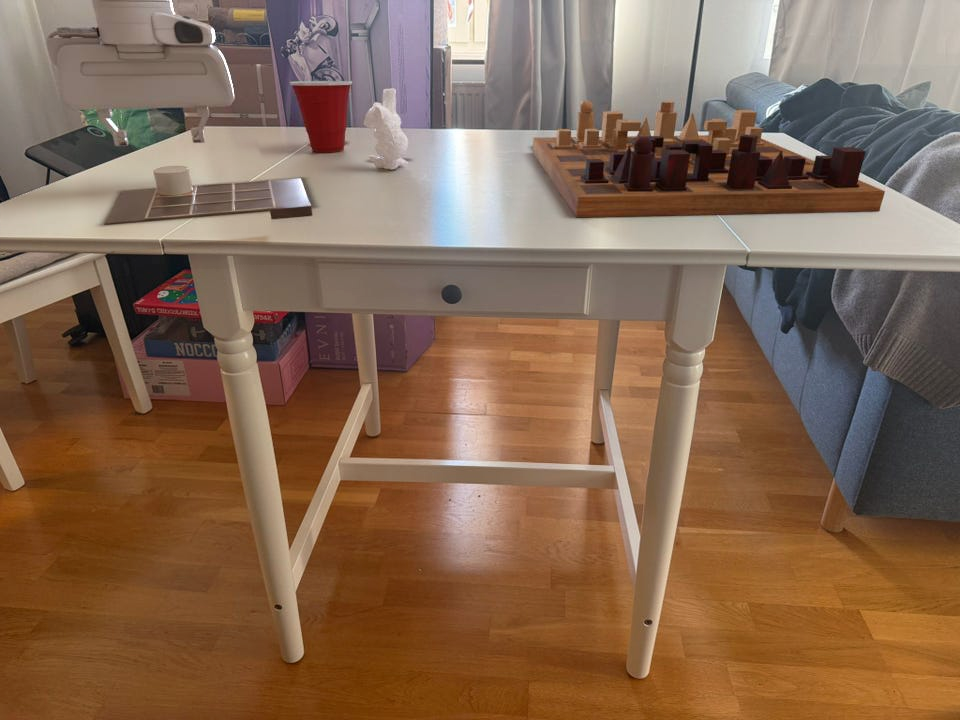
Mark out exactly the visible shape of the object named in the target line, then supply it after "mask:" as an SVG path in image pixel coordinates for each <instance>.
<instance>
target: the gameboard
mask: <svg viewBox="0 0 960 720" xmlns="http://www.w3.org/2000/svg"><path fill="white" fill-rule="evenodd" d="M578 109H579V112H577V121H576V122H577V124H576V136H572V130H571V129H570V128H558V129H556V136H555V137H554V136H553V137H551V136H550V137H547V136H546V137H533V138H532V154H533V156H534V158H535V159H536V160H537V161H538V163H539V164H540V166H541V167H542V169H543V170H544V172H545V174H547V176H548V178H549V179H550V181H551V182H552V184H553V185H554V186H555V188H556V189H557V191H558V192H559V194H560V195H561V197H562V198H563V200H564V201H565V203H566V204H567V205H568V207H569V209H570V210H571V211H572V213H573V215H574V216H575V217H576V218H611V217H612V218H613V217H655V216H656V217H658V216H659V217H661V216H706V215H707V216H709V215H749V214H750V215H754V214H756V215H757V214H759V215H760V214H802V213H804V214H805V213H807V214H808V213H848V212H852V213H853V212H854V213H855V212H880V211H881V207H882V203H883V200H884V196H885V193H886V190H884V189H881V188H879V187H877V186H874V185H872V184H869V183H867V182H865V181H862V180H861V179H859V178H860V175H861V171H862V168H863V163H864V160H865V156H866V151H865V150H863V149H860V148H857V147H854V146H850V147H849V146H847V147H846V146H845V147H844V146H843V147H842V146H841V147H836V146H835V147H833V149H832V154H831V155H826V154H825V155H815V158H814V160H813V159H811V158H809V157H807V156H804V155H802V154H799V153H796V152H795V151H792V150H789V149H787V148H785V147H783V146H780V145H777V144H776V143H773V142H771V141H769V140H766V139H763V138H762V134H763V128H762V127H759V126H755V125H756V120H757V114H758V112H757V111H755V110H752V109H735V110H734V113H733V118H732V119H733V120H732V126H728V121H727V120H726V119H725V120H724V119H722V118H710V119H709V120H708V119H707V120H704V125H703V130H704V131H708V135H707V134H703V135H700V134H699V131H698V127H697V123H696V119H695V115H694V111H692V112H691V113H690V116H689V117H688V119H687V121H686V122H685V125H684V126H683V128H682V129H681V132H680V134H679V135H675V132H676V125H677V124H676V123H677V117H678V112H675V111H674V109H675V101H669V100H664V101H661V104H660V110H656V113H655V122H654V129H653V130H654V131H653V135H652V134H651V130H650V125H649V121H648V118H647V116H646V117H645V119H644V121H643V123H642V122H641V121H639V120H628V119H625V118H623V117H624V113H622V112H621V111H620V110H616V111H615V110H611V111H609V110H607V111H606V110H605V111H603V112H602V121H601V135H600V130H599V129H597V128H594V127H595V126H594V124H595V112H593V111H594V104H593V103H592V102H591V101H590V100H583V101H581V103H580V104H579V107H578ZM629 132H637V135H631V136H628V135H629Z"/></svg>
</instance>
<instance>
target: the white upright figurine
mask: <svg viewBox="0 0 960 720" xmlns="http://www.w3.org/2000/svg"><path fill="white" fill-rule="evenodd" d="M396 95H397V89H396V88H395V87H393V88H391V87H390V88H384V89H383V91H382V97H381V98H382V99H381V100H382V103H380V102H378V101H377V102H376V101H375V102H373V104H372V106H371V108H369V109H368V110H367V111H366V114H365V118H364V120H363V122H362V123H363V125H364V126H365V127H367V129H375V130H374V133H373V135H374V138H375V139H376V140H378V141H377V144H376V145H375V148H374V149H375V152H376V154H377V155H379V156H377V155H375V154H370V155H369V156H368V160H370V162H371V163H373V164H374V166H375V168H378V169H384V170H391V171H393V170H396V169H398V168H399V167H402V166H407V165H408V164H409V162H408V161H407V160H405V159H403V158H404V157H405V155H406V153H407V150H408V147H409V146H408V145H409V138H408V136H407V135H406V134H405V133H404V132H403V129H402V127H401V125H402V119H401V117H400V115H399V114H398V113H397V97H396Z"/></svg>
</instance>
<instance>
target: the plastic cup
mask: <svg viewBox="0 0 960 720" xmlns="http://www.w3.org/2000/svg"><path fill="white" fill-rule="evenodd" d="M289 84H290V86H291V87H292V88H293V91H294V94H295V97H296V100H297V102H298V106H299V109H300V113H301V116H302V120H303V124H304V128H305V132H306V134H307V136H308V140H309V145H310V147H311V150H312V152H314V153H320V154H321V153H322V154H323V153H324V154H326V153H328V154H329V153H337V152H342V151H343V150H345V144H346V131H347V120H348V118H347V117H348V104H349V103H348V101H349V97H350V96H349V95H350V89H351V85H352V84H353V81H352V80H308V81H307V80H305V81H303V80H302V81H289Z"/></svg>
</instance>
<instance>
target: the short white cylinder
mask: <svg viewBox="0 0 960 720" xmlns="http://www.w3.org/2000/svg"><path fill="white" fill-rule="evenodd" d="M190 173H191V172H190V169H189V166H186V165H167V166H160V167H156V168H154V169H153V176H154V177H153V178H154V181H155V185H156V188H157V190H158V193H159V194H160V195H181V194H186V193H189V192H191V191H192V190H193V188H192V186H193V183H192V180H191V179H192V178H191V174H190Z"/></svg>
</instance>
